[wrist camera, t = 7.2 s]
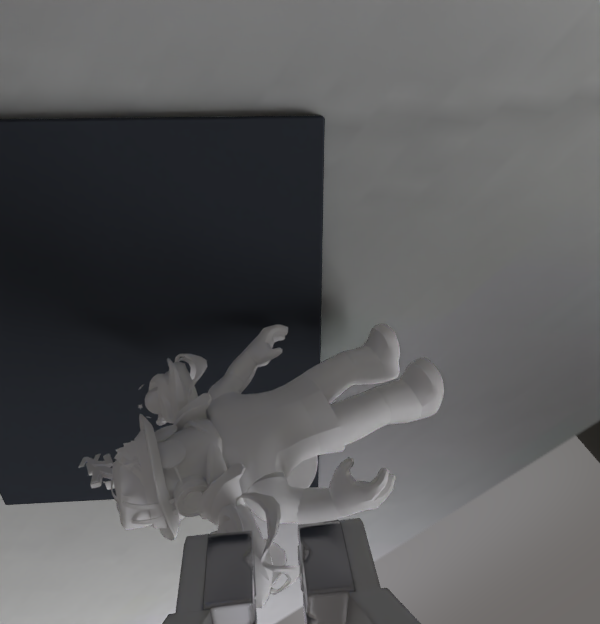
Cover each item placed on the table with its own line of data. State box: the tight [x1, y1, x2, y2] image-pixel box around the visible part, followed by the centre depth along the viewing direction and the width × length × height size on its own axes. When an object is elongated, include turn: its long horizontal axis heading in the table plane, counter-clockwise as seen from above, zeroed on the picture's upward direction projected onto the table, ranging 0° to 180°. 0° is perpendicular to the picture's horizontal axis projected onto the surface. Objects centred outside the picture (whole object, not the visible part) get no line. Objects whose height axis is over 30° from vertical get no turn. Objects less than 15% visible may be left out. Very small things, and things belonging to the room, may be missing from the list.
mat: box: [0, 116, 325, 505], centre depth 19 cm, size 16×18×1 cm
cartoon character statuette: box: [78, 323, 444, 608], centre depth 15 cm, size 9×4×12 cm
